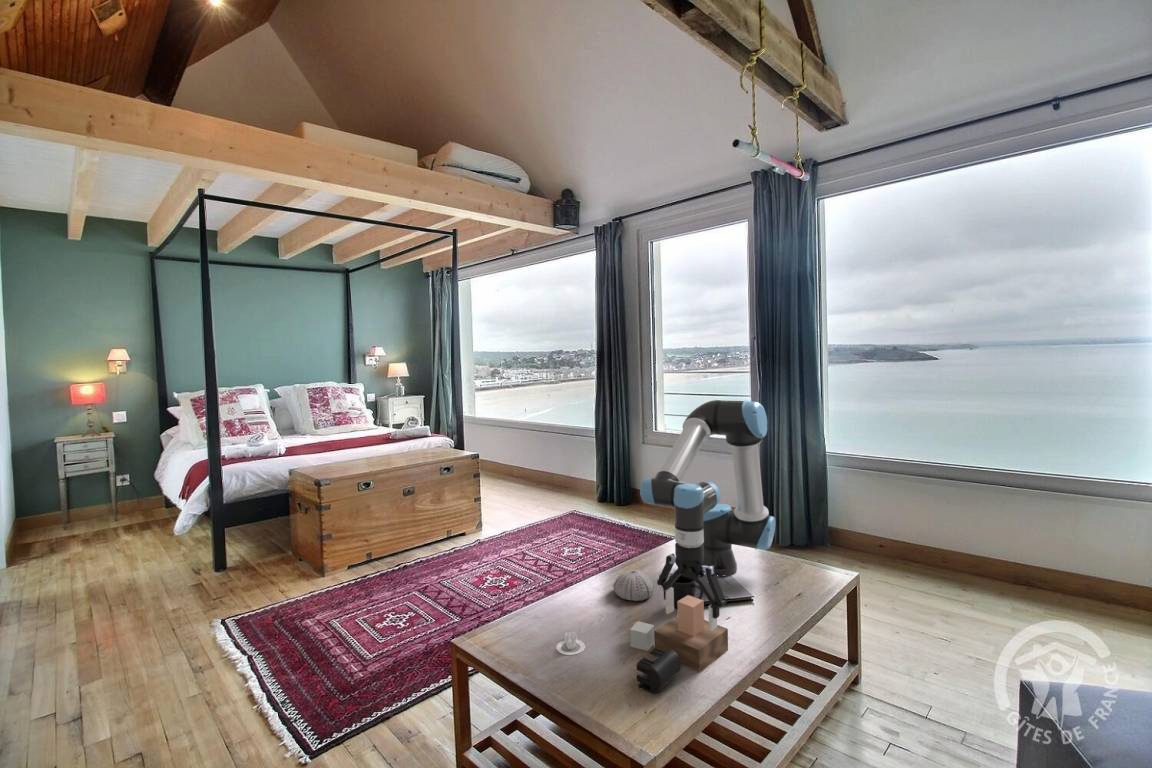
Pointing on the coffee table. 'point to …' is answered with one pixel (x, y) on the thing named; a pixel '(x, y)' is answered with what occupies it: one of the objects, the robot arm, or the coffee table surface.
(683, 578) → the mug
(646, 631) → the grey cube
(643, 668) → the end cap
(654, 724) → the coffee table surface
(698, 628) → the terracotta block
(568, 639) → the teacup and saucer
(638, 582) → the sea urchin shell
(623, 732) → the coffee table surface
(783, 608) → the coffee table surface
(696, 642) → the walnut block
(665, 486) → the robot arm
